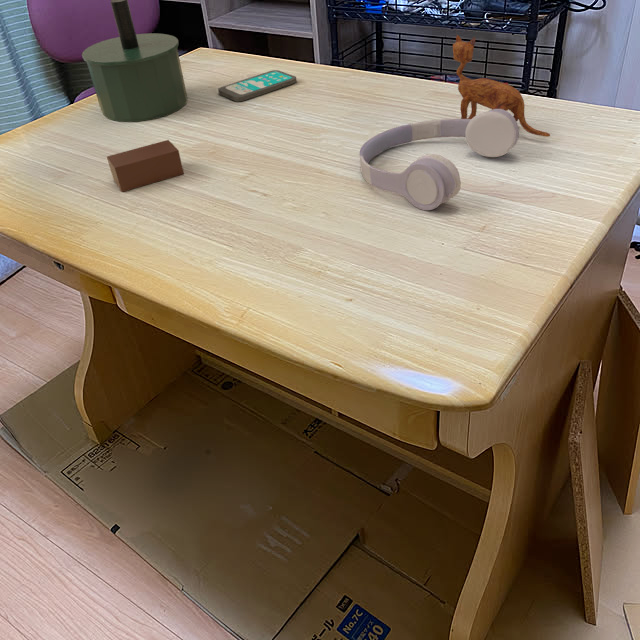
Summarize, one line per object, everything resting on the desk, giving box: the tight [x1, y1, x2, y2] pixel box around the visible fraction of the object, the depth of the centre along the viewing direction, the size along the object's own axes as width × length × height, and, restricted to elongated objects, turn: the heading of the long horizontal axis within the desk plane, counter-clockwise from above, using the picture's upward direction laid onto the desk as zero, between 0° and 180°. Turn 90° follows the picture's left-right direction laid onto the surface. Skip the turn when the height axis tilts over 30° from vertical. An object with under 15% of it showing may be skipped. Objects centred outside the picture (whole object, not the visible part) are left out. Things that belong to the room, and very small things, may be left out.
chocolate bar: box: [106, 139, 184, 193], centre depth 97 cm, size 10×5×4 cm, turn 119°
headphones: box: [358, 109, 520, 211], centre depth 92 cm, size 22×7×20 cm
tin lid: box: [81, 0, 180, 65], centre depth 114 cm, size 18×18×9 cm
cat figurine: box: [452, 34, 551, 138], centre depth 98 cm, size 18×7×14 cm, turn 50°
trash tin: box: [86, 47, 188, 123], centre depth 120 cm, size 17×17×10 cm
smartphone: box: [217, 69, 298, 102], centre depth 126 cm, size 9×1×15 cm
